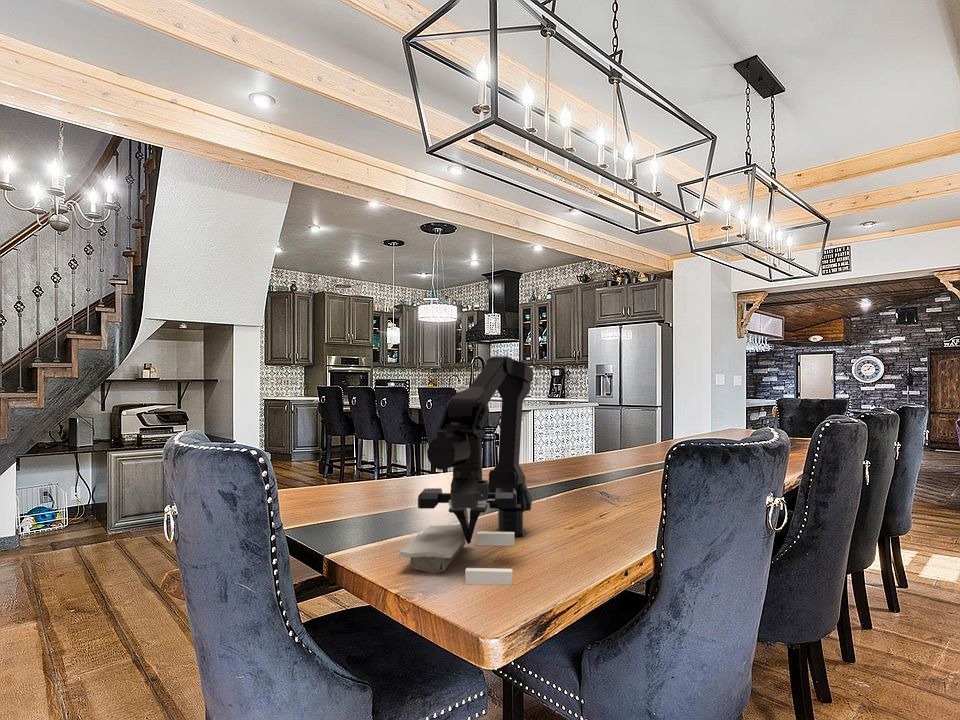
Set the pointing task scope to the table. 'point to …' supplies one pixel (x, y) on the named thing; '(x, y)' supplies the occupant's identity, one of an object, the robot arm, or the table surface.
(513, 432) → the robot arm
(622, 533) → the table surface
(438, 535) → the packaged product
